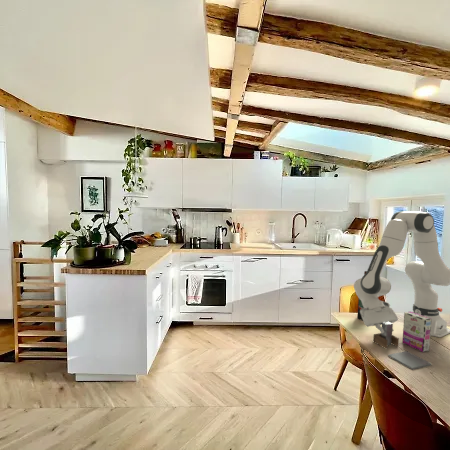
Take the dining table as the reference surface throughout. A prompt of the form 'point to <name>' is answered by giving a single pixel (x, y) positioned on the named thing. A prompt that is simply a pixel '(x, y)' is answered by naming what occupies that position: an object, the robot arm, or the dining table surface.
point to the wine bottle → (360, 307)
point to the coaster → (409, 360)
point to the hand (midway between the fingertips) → (387, 332)
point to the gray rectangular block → (387, 332)
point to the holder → (384, 340)
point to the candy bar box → (416, 331)
